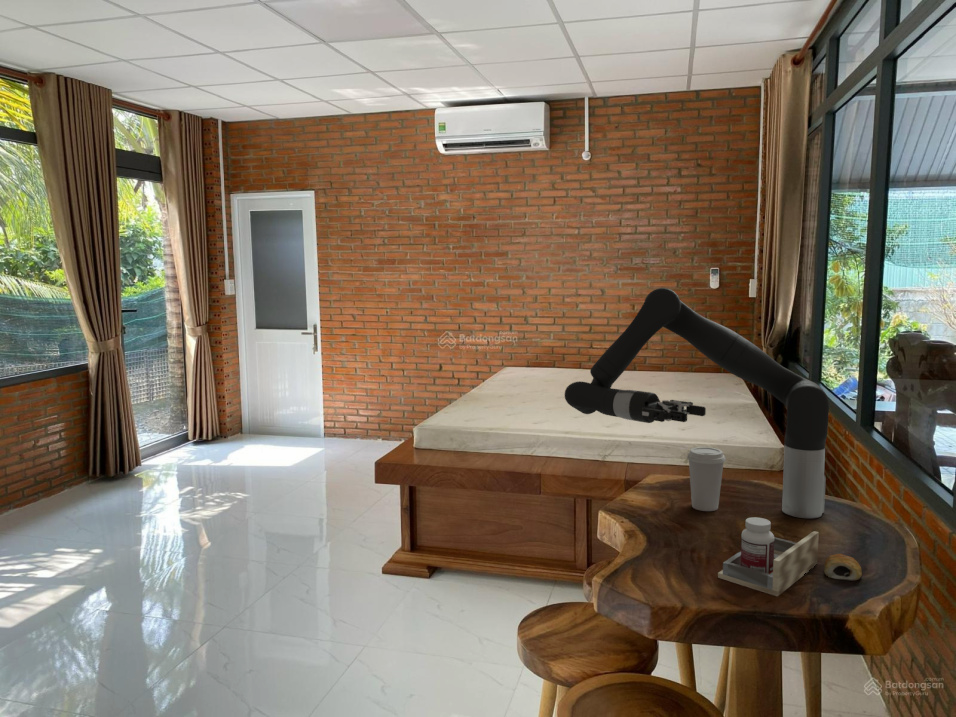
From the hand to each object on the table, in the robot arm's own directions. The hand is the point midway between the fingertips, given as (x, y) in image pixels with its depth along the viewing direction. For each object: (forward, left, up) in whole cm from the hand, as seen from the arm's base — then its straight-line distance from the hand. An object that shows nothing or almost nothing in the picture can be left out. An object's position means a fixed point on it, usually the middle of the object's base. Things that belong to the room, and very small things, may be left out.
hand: (695, 414), depth 165 cm
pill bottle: (+9, +26, -27) cm, 38 cm away
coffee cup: (-15, -10, -28) cm, 33 cm away
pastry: (-8, +33, -28) cm, 44 cm away
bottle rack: (+4, +24, -28) cm, 37 cm away
